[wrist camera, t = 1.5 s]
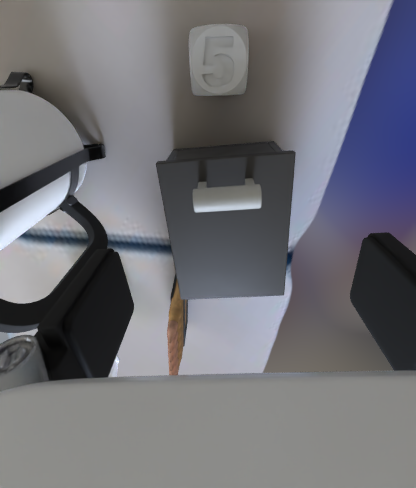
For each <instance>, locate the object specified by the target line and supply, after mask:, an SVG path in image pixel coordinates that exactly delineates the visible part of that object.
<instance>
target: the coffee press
mask: <svg viewBox="0 0 416 488" xmlns="http://www.w3.org/2000/svg"><path fill="white" fill-rule="evenodd" d="M19 85H20V88H19V90H13V89H0V251H1V250H2V249H3V248H5V247H6V246H7V245H9V244H10V243H11V242H12V241H14V240H15V239H16V238H18V237H19V236H20V235H22V234H23V233H24V232H26V231H27V230H28V229H29V228H31V227H32V226H33V225H35V224H36V223H37V222H39V221H40V220H41V219H43V218H44V217H45V216H47V215H50V214H52V213H54V212H55V211H57V210H58V209H60V210H62V211H63V212H66V213H67V214H69V215H70V216H71V217H72V218H74V219H75V220H76V221H77V222H78V223H79V224H80V225H82V227H83V228H84V229H85V230H86V232H87V234H88V238H89V244H88V246H87V248H86V250H85V251H84V252H83V254H82V255H81V256H80V257H79V259H78V260H77V261H76V262H75V264H74V265H73V266H72V267H71V269H70V270H69V271H68V272H67V274H66V275H65V276H64V277H63V279H62V280H61V281H60V282H59V284H58V285H57V286H56V287H55V289H54V290H53V291H52V292H51V293H50V294H49V295H48V296H47V297H45V298H43V299H41V300H39V301H36V302H32V303H26V304H18V303H12V302H8V301H5V300H3V299H0V332H6V333H19V332H26V331H30V330H33V329H36V328H37V326H38V325H39V324H40V322H41V321H42V320H43V318H44V317H45V316H46V315H47V313H48V312H49V311H50V309H51V308H52V307H53V305H54V304H55V303H56V301H57V300H58V299H59V298H60V296H61V295H62V294H63V292H64V291H65V290H66V288H67V287H68V286H69V284H70V283H71V282H72V281H73V279H74V278H75V277H76V275H77V274H78V273H79V271H80V270H81V269H82V267H83V266H84V265H85V264H86V262H87V261H88V260H89V258H90V257H91V256H92V254H93V253H94V252H95V251H96V250H97V249H107V245H108V239H107V234H106V231H105V229H104V227H103V226H102V224H101V223H100V222H99V220H98V219H97V218H96V217H95V216H94V215H93V214H92V213H91V212H90V211H89V210H88V209H87V208H86V207H84V206H83V205H82V204H81V203H80V202H78V200H77V198H75V197H74V196H73V195H74V193H75V192H76V191H77V190H78V189H79V187H80V186H81V184H82V182H83V180H84V177H85V173H86V162H88V161H91V160H96V159H101V158H105V157H106V156H105V149H104V145H103V144H91V145H83V144H82V141H81V139H80V137H79V135H78V133H77V131H76V130H75V128H74V127H73V125H72V124H71V122H70V121H69V120H68V119H67V118H66V117H65V115H64V114H63V113H62V112H60V111H59V110H58V109H57V108H56V107H55V106H53V105H52V104H51V103H49V102H48V101H46V100H44V99H43V98H41V97H39V96H36V95H34V94H32V90H33V81H32V78H31V76H30V75H29V74H28V73H25V72H11V74H10V75H9V78H8V79H7V81H6V83H5V84H4V85H0V88H16V87H18V86H19Z"/></svg>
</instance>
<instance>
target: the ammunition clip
mask: <svg viewBox="0 0 416 488" xmlns="http://www.w3.org/2000/svg"><path fill="white" fill-rule="evenodd" d="M187 316H188V299H185V300H181V298H180V292H179V287H178V281H177V276H176V275H175V279H174V284H173V289H172V293H171V305H170V310H169V321H168V329H167V337H168V357H169V375H178V370H179V365H180V362H181V359H182V352H183V346H184V345H185V337H186V329H187Z"/></svg>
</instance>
